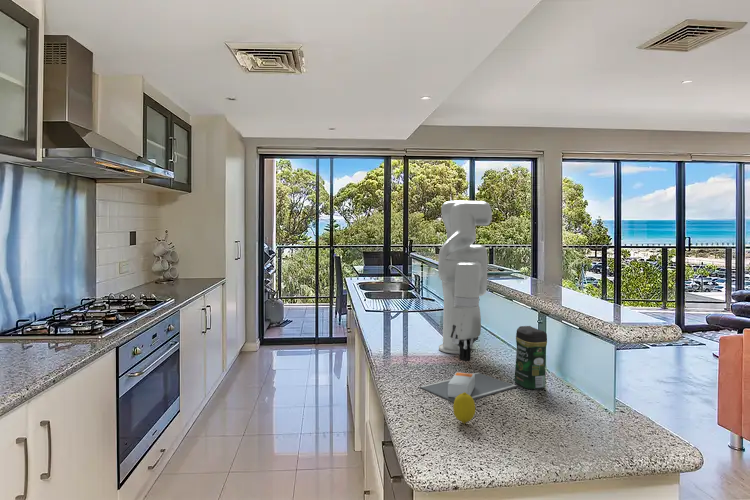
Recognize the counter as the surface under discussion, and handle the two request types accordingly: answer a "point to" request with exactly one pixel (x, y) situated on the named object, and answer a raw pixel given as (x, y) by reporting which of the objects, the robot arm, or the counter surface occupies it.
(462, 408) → the lemon
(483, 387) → the mat
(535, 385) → the coffee jar
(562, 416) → the counter surface
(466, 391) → the skincare box
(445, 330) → the robot arm
